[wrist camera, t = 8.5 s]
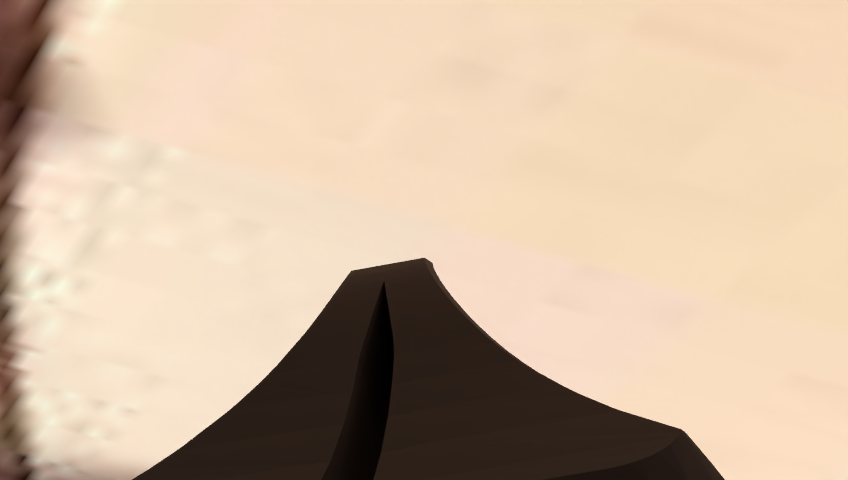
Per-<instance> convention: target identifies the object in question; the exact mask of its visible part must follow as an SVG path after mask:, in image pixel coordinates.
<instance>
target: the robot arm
mask: <svg viewBox="0 0 848 480" xmlns="http://www.w3.org/2000/svg"><path fill="white" fill-rule="evenodd" d="M132 480H724V478H723V477H722V476H721V475H720V473H719V472H718V471H717V469H716V468H715V467H714V466H713V464H712V463H711V462H710V461H709V460H708V458H707V457H706V456H705V455H704V454H703V453H702V451H701V450H700V449H699V448H698V447H697V445H696V444H695V443H694V442H693V441H692V440H691V438H690V437H689V436H688V435H687V434H686V433H685V432H684V431H683V430H681V429H678V428H675V427H672V426H669V425H665V424H662V423H659V422H656V421H652V420H649V419H646V418H642V417H639V416H636V415H633V414H629V413H626V412H623V411H620V410H617V409H614V408H612V407H609V406H607V405H604V404H602V403H600V402H597V401H595V400H592V399H590V398H588V397H585V396H583V395H580V394H578V393H576V392H574V391H572V390H570V389H568V388H566V387H564V386H562V385H560V384H558V383H557V382H555V381H553V380H551V379H549V378H547V377H546V376H544V375H542V374H540V373H538V372H537V371H535V370H534V369H532V368H531V367H529V366H527V365H526V364H524V363H523V362H522V361H520V360H519V359H518V358H516V357H515V356H513V355H512V354H511V353H509V352H508V351H507V350H505V349H504V348H503V347H502V346H501V345H499V344H498V343H497V342H496V341H495V340H493V339H492V338H491V337H490V336H489V335H488V334H487V333H486V332H485V331H484V330H483V329H482V328H480V327H479V326H478V325H477V324H476V323H475V322H474V321H473V320H472V319H471V318H470V317H469V316H468V315H467V313H466V312H465V311H464V310H463V309H462V308H461V306H460V305H459V304H458V303H457V302H456V301H455V300H454V298H453V297H452V296H451V295H450V293H449V292H448V291H447V289H446V288H445V287H444V285H443V284H442V282H441V281H440V279H439V277H438V276H437V274H436V272H435V270H434V268H433V263H432V262H430V261H429V260H427V259H426V258H421V259H415V260H409V261H404V262H398V263H393V264H387V265H381V266H376V267H370V268H365V269H359V270H353V271H351V272H350V273H349V275H348V276H347V277H346V279H345V280H344V281H343V283H342V284H341V285H340V287H339V288H338V290H337V291H336V292H335V294H334V295H333V297H332V298H331V299H330V301H329V302H328V304H327V305H326V306H325V308H324V309H323V310H322V312H321V313H320V315H319V316H318V317H317V318H316V320H315V321H314V322H313V324H312V325H311V326H310V328H309V329H308V330H307V331H306V333H305V334H304V335H303V336H302V337H301V339H300V340H299V341H298V342H297V343H296V344H295V345H294V347H293V348H292V349H291V350H290V351H289V352H288V353H287V355H286V356H285V357H284V358H283V359H282V360H281V361H280V363H279V364H278V365H277V366H276V367H275V368H274V369H273V370H272V371H271V372H270V373H269V374H268V375H267V376H266V377H265V378H264V379H263V380H262V381H261V382H260V383H259V384H258V385H257V386H256V387H255V388H254V389H253V390H252V391H250V392H249V393H248V394H247V395H246V396H245V397H244V398H243V399H242V400H241V401H240V402H238V403H237V404H236V405H235V406H234V407H233V408H232V409H230V410H229V411H228V412H227V413H225V414H224V415H223V416H222V417H220V418H219V419H218V420H216V421H215V422H214V423H212V424H211V425H210V426H209V427H207V428H206V429H205V430H203V431H202V432H201V433H199V434H198V435H197V436H196V437H194V438H193V439H192V440H190V441H189V442H188V443H187V444H185V445H184V446H183V447H181V448H180V449H178V450H177V451H175V452H174V453H173V454H171V455H170V456H168V457H167V458H165V459H164V460H162V461H161V462H159V463H158V464H156V465H155V466H153V467H152V468H150V469H149V470H147V471H145V472H144V473H142V474H140V475H139V476H137V477H136V478H134V479H132Z"/></svg>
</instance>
